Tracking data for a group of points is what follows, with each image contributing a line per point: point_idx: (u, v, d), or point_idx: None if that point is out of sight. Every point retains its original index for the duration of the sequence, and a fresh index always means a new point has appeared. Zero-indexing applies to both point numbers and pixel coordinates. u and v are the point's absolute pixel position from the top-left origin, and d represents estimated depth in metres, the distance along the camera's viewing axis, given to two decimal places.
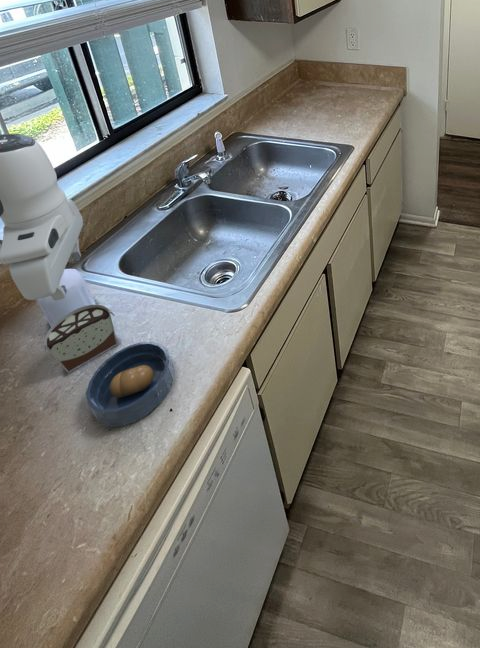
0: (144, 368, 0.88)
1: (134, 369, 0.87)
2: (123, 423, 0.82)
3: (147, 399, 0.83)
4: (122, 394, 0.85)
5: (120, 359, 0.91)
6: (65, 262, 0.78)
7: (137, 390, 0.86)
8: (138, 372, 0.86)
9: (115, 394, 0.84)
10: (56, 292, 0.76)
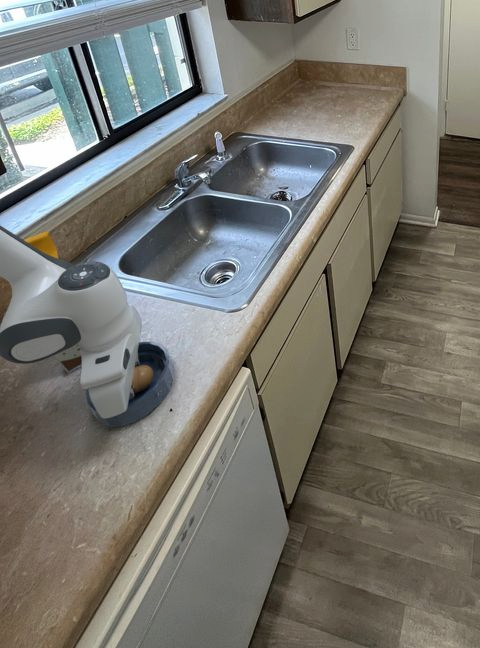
0: (145, 368, 0.88)
1: (134, 369, 0.87)
2: (123, 423, 0.82)
3: (147, 399, 0.83)
4: None
5: None
6: (132, 373, 0.83)
7: (137, 390, 0.86)
8: (138, 372, 0.86)
9: None
10: None
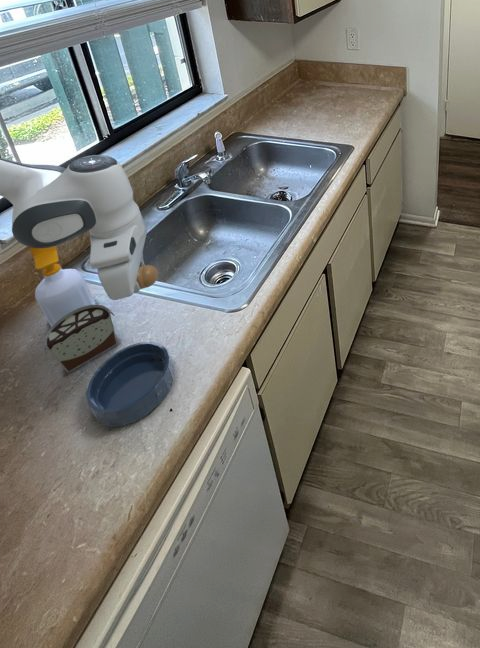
0: (149, 266, 0.93)
1: (140, 267, 0.92)
2: (123, 423, 0.82)
3: (147, 399, 0.83)
4: None
5: (120, 359, 0.91)
6: (138, 266, 0.88)
7: (143, 285, 0.91)
8: (143, 269, 0.91)
9: None
10: None
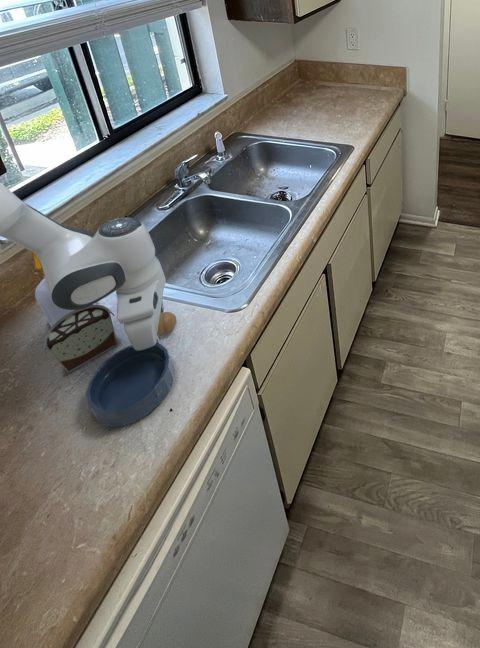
0: (169, 314, 1.00)
1: (160, 314, 0.99)
2: (123, 423, 0.82)
3: (147, 399, 0.83)
4: None
5: (120, 359, 0.91)
6: (159, 316, 0.96)
7: (163, 332, 0.98)
8: (163, 317, 0.99)
9: None
10: None
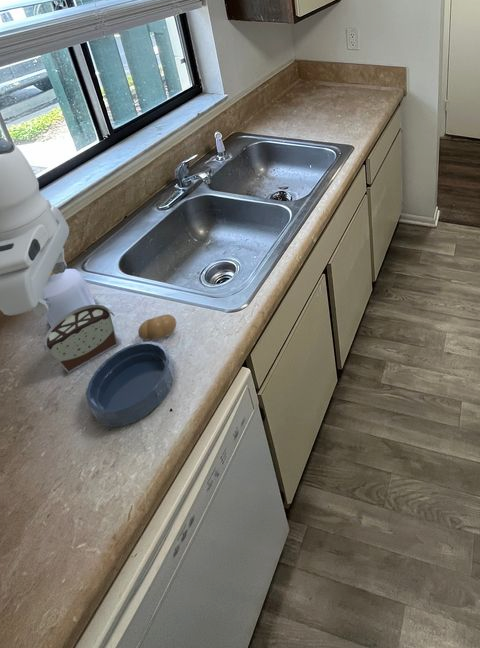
0: (168, 318, 0.98)
1: (159, 320, 0.98)
2: (123, 423, 0.82)
3: (147, 399, 0.83)
4: (150, 340, 0.97)
5: (120, 359, 0.91)
6: (48, 274, 0.74)
7: (163, 336, 0.98)
8: (163, 323, 0.97)
9: (144, 340, 0.96)
10: (38, 306, 0.72)
